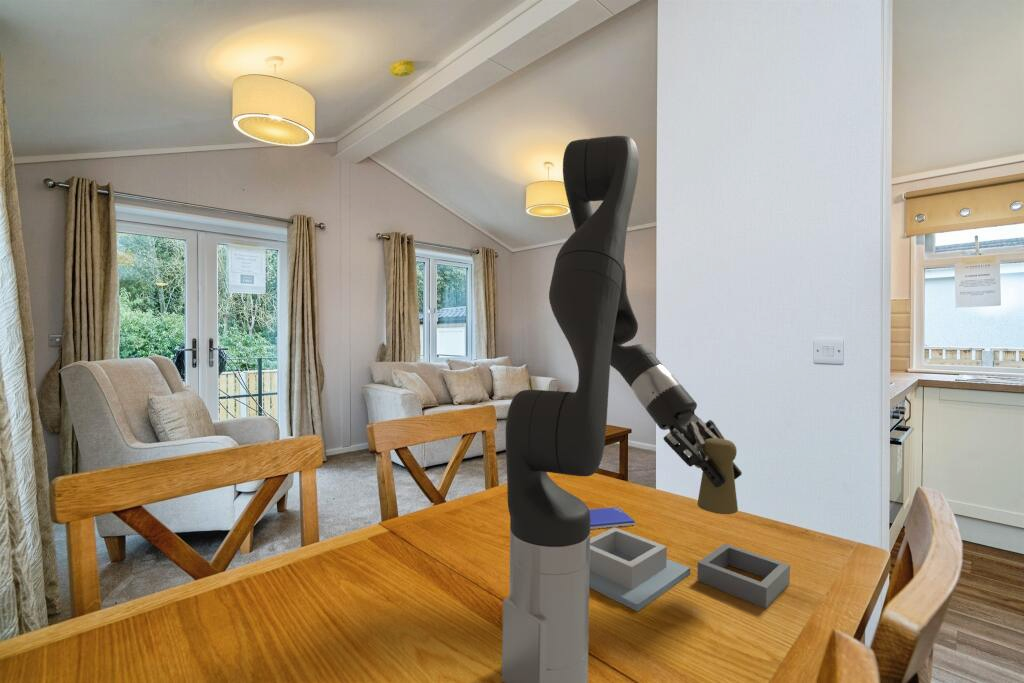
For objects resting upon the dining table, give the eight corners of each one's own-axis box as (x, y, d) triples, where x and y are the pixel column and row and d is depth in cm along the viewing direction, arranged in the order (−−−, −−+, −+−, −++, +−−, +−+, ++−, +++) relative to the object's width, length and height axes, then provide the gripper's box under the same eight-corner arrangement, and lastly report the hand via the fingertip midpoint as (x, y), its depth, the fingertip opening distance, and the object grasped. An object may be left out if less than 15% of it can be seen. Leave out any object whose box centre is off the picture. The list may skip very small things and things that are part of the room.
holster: (766, 608, 70) (766, 588, 69) (697, 580, 77) (697, 562, 77) (789, 583, 77) (790, 564, 77) (724, 560, 84) (724, 543, 84)
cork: (713, 515, 73) (715, 444, 73) (689, 501, 79) (691, 436, 79) (746, 512, 75) (748, 442, 74) (720, 499, 81) (722, 434, 80)
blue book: (617, 506, 107) (565, 510, 104) (634, 520, 99) (578, 525, 96) (617, 513, 107) (565, 517, 104) (634, 527, 99) (578, 533, 96)
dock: (637, 611, 68) (638, 580, 68) (554, 569, 80) (554, 543, 80) (690, 573, 79) (690, 547, 79) (610, 541, 91) (610, 518, 91)
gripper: (654, 385, 77) (727, 477, 68) (697, 380, 87) (765, 460, 78) (626, 413, 81) (691, 503, 73) (669, 405, 91) (731, 484, 82)
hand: (729, 480), depth 75 cm, fingers closed on cork, 4 cm apart
